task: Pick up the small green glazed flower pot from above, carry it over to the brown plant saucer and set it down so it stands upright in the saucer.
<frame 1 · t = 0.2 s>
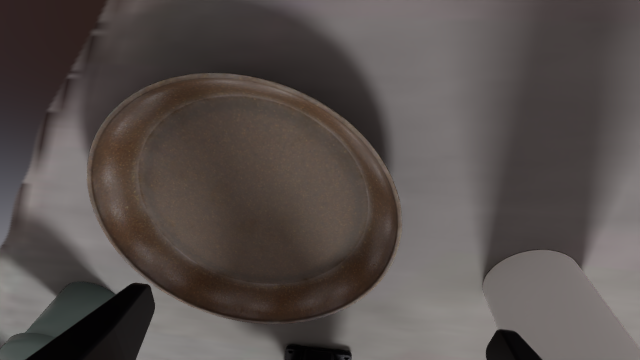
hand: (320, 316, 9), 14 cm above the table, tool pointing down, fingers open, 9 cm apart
glazed flower pot: (94, 303, 34), on the table
plant saucer: (255, 200, 26), on the table
cylindrical container: (529, 281, 28), on the table
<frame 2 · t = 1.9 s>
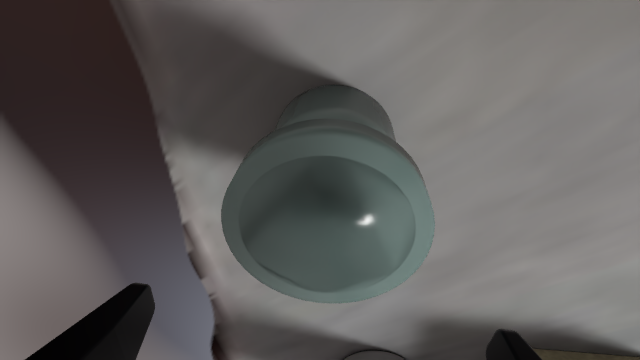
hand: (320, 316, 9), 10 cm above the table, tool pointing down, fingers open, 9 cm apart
glazed flower pot: (334, 143, 18), on the table
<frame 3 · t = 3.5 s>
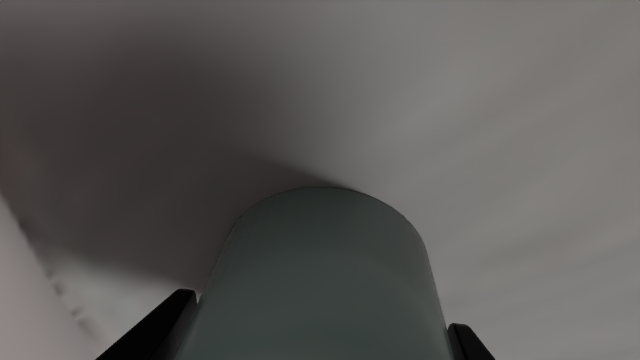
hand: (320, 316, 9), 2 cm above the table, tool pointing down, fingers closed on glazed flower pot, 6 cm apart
glazed flower pot: (324, 271, 10), on the table, touching gripper
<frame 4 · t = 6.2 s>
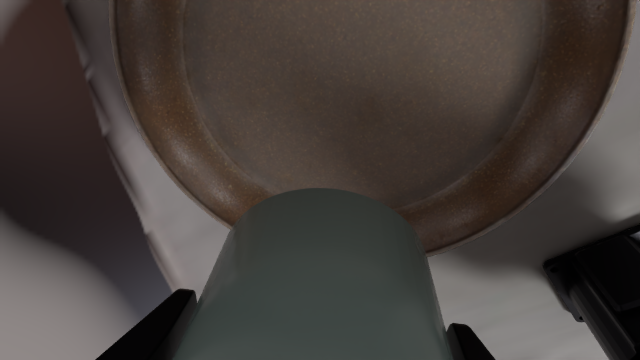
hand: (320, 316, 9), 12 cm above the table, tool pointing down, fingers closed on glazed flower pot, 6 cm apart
glazed flower pot: (323, 272, 10), point 10 cm above the table, touching gripper
plant saucer: (353, 74, 18), on the table
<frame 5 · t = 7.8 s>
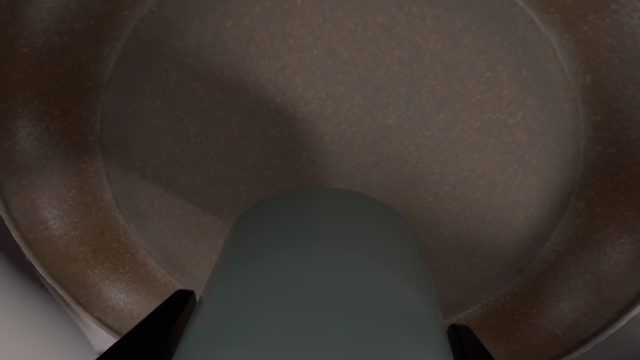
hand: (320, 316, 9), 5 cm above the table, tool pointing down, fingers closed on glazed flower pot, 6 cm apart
glazed flower pot: (323, 271, 10), point 3 cm above the table, touching gripper
plant saucer: (329, 194, 14), on the table
when the fingers open (5 cm above the table, at t = 8.9 s): glazed flower pot stays where it is, resting on plant saucer.
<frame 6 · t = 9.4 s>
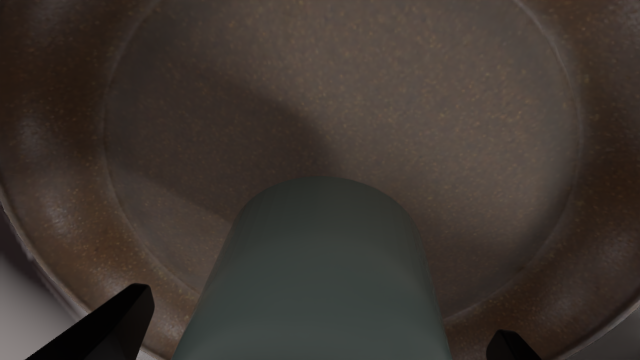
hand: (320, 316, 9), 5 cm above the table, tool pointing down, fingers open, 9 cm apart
glazed flower pot: (324, 258, 11), point 3 cm above the table, touching plant saucer
plant saucer: (330, 193, 14), on the table, touching glazed flower pot
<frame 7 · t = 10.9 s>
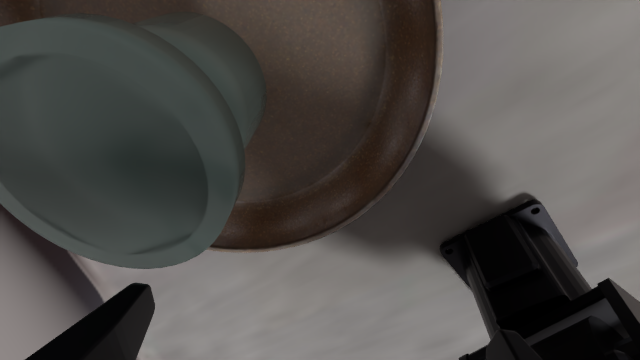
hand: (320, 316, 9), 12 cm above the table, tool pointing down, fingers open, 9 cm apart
glazed flower pot: (198, 88, 15), point 3 cm above the table, touching plant saucer
plant saucer: (221, 64, 18), on the table, touching glazed flower pot
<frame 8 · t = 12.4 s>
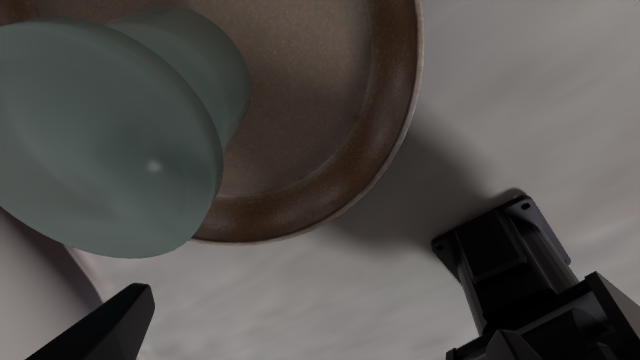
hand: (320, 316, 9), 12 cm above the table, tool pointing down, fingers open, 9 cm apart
glazed flower pot: (183, 80, 15), point 3 cm above the table, touching plant saucer
plant saucer: (211, 58, 18), on the table, touching glazed flower pot
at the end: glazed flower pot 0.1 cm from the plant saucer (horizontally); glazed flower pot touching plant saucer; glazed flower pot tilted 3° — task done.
